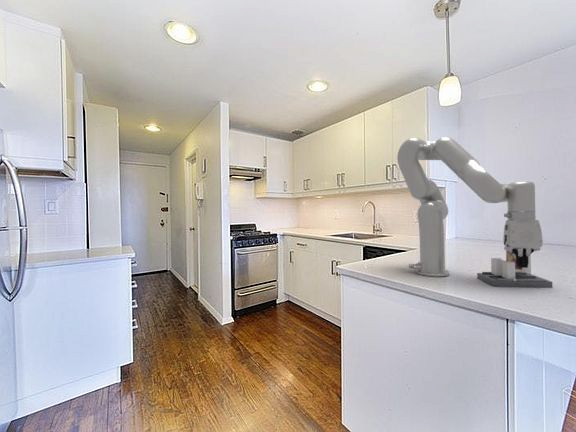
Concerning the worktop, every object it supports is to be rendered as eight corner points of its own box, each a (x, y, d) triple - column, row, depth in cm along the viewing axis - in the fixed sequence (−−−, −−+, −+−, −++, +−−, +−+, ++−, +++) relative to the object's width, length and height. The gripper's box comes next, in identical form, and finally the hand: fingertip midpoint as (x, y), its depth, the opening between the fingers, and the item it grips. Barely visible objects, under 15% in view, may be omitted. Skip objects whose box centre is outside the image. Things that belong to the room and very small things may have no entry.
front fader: (507, 279, 96) (507, 262, 96) (501, 276, 100) (501, 260, 100) (515, 279, 96) (515, 262, 96) (509, 276, 99) (509, 260, 99)
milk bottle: (521, 272, 114) (520, 225, 113) (536, 276, 106) (535, 226, 106) (501, 272, 115) (501, 225, 114) (515, 276, 107) (514, 227, 106)
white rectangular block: (496, 275, 102) (496, 259, 101) (491, 273, 105) (490, 257, 105) (503, 275, 101) (503, 259, 101) (498, 273, 105) (498, 257, 104)
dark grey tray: (493, 286, 96) (493, 279, 96) (477, 277, 107) (477, 271, 107) (552, 287, 92) (552, 279, 92) (529, 278, 104) (529, 271, 104)
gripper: (503, 217, 94) (504, 269, 95) (553, 215, 91) (554, 269, 92) (492, 216, 102) (493, 264, 102) (538, 215, 99) (539, 264, 99)
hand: (522, 266), depth 97 cm, fingers closed
